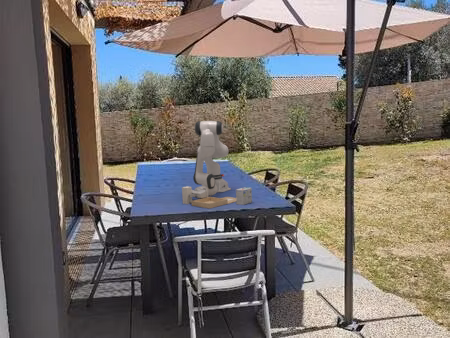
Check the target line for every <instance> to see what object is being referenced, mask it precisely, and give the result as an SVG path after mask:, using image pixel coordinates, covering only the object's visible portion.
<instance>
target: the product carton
mask: <svg viewBox="0 0 450 338" xmlns="http://www.w3.org/2000/svg"><path fill="white" fill-rule="evenodd" d="M192 190H193V189H192V186H188V185H187V186H183V187H182V186H181V195H182V204H183V205H190V204H191V205H192V201H193V197H189V194H192Z"/></svg>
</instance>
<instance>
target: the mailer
mask: <svg viewBox="0 0 450 338" xmlns="http://www.w3.org/2000/svg"><path fill="white" fill-rule="evenodd" d="M234 203H236V197H232V196H225V197H224V196H223V197H214V196H209V197H207V198H200V199H198V198H197V199H194V200H192V203H191V207H198V208H202V209H208V210H210V209H213V208H217V207H222V206H225V205H228V204H234Z"/></svg>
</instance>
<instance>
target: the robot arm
mask: <svg viewBox="0 0 450 338" xmlns="http://www.w3.org/2000/svg"><path fill="white" fill-rule="evenodd" d="M193 130H194V133H195V134H196V136H198V137H200V142H199V146H198V148H197V155H196V158H195V159H196V160H195V166H194V174H193V178H192V179H193V182H194V183H195V184H196V185H199V186H196V187H195V188H194V189H192V194H189V197H192V198H196V199H197V200H198V199H202V198H207V197H213V196H215V194H217V193H224V192H228V191H231V190H232V187H229V182H228V181H227V180H225V179H224V178H223V177H225V174H222V173H221V165H220V163H218V162H217V161H214V160H213V159H216V158H217V159H218V158H219V159H221V158H226V157H227V156H228V155H229V148H228V146H227V145H226V144H224V143H222V142H221V141H220V136H219V135H221V134H223V131H224V125H223V122H222V121H219V120H216V121H215V120H204V121H201V120H200V121H196V122H195V123H194V129H193ZM204 163H205V165H206V172H204V171H203V170H204ZM195 184H194V185H195Z"/></svg>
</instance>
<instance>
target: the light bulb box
mask: <svg viewBox="0 0 450 338" xmlns="http://www.w3.org/2000/svg"><path fill="white" fill-rule="evenodd" d="M252 191H253V190H252V187H247V186H246V187H241V188H237V189H235V198H236V202H235V204H236V205H241V206H244V205H247V204H251V203H253V193H252Z"/></svg>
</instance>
